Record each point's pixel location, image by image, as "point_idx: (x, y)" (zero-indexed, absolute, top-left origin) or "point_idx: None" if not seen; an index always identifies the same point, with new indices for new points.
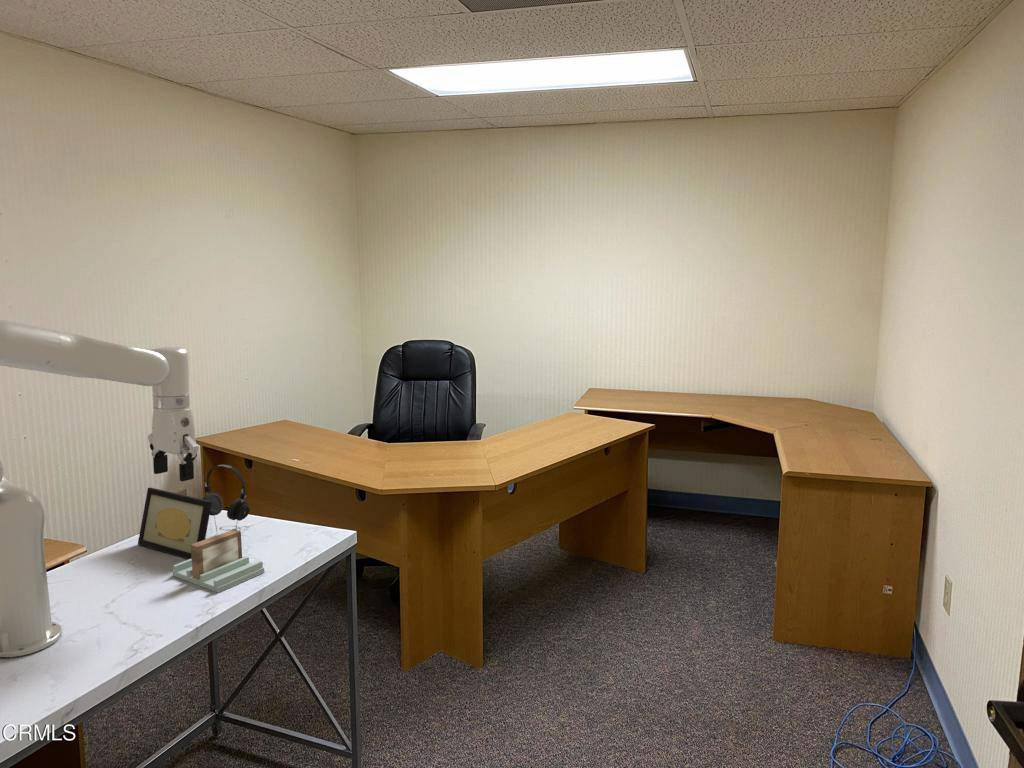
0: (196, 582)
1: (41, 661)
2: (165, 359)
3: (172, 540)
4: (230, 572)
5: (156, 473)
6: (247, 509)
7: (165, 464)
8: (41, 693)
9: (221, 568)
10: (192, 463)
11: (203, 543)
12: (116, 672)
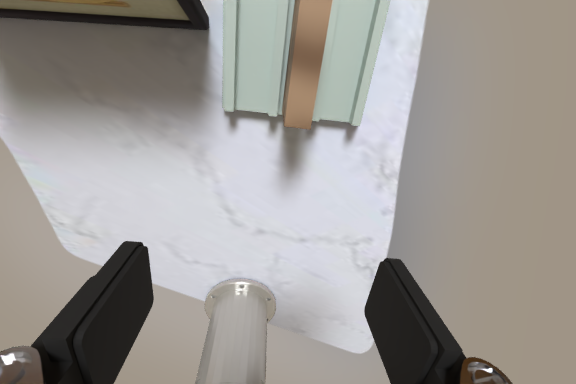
0: None
1: (294, 311)
2: None
3: (85, 4)
4: (335, 57)
5: (152, 302)
6: None
7: (124, 290)
8: (344, 331)
9: (326, 74)
10: (448, 342)
11: (306, 105)
12: None
